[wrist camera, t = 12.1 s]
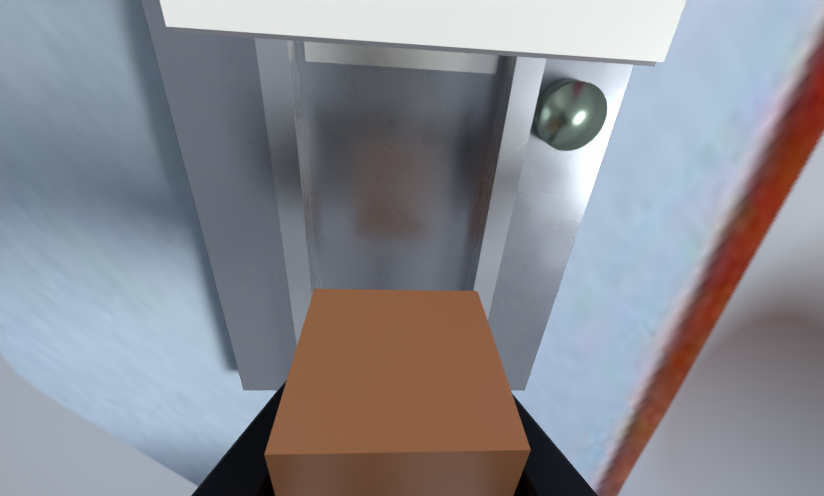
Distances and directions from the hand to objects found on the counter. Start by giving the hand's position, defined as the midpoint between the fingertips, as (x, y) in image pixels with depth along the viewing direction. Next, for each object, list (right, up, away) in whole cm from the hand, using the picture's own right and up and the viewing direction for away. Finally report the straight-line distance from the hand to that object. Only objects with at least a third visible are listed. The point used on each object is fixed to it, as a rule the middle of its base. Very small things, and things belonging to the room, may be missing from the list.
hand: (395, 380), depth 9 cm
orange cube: (0, +1, +1) cm, 1 cm away
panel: (0, +5, +5) cm, 7 cm away
